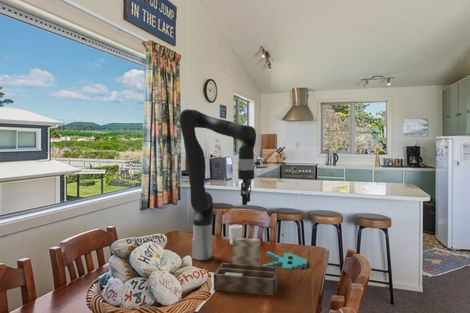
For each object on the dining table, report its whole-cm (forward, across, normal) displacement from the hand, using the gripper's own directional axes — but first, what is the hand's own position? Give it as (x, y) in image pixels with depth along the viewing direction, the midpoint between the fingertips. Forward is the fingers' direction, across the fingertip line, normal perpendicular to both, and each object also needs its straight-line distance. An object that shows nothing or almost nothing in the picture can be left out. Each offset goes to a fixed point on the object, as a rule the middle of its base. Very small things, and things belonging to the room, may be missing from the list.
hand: (246, 203), depth 154 cm
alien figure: (+31, -8, +18) cm, 37 cm away
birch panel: (+30, +6, +1) cm, 31 cm away
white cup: (+30, -34, -12) cm, 47 cm away
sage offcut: (+29, +25, -1) cm, 38 cm away
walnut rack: (+30, +22, +4) cm, 37 cm away
